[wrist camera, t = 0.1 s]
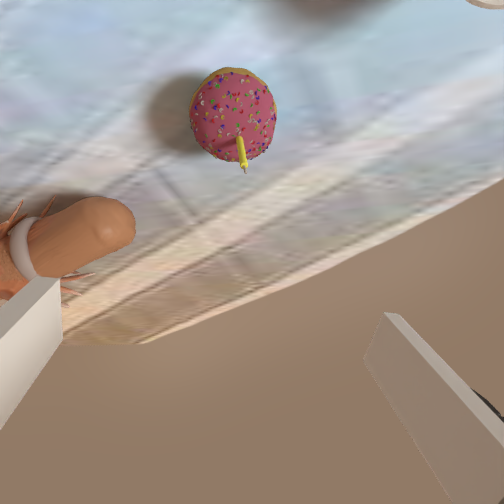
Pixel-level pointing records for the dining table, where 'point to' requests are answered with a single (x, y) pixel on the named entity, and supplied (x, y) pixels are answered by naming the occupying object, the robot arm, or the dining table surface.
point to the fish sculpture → (61, 242)
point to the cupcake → (233, 115)
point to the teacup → (488, 3)
